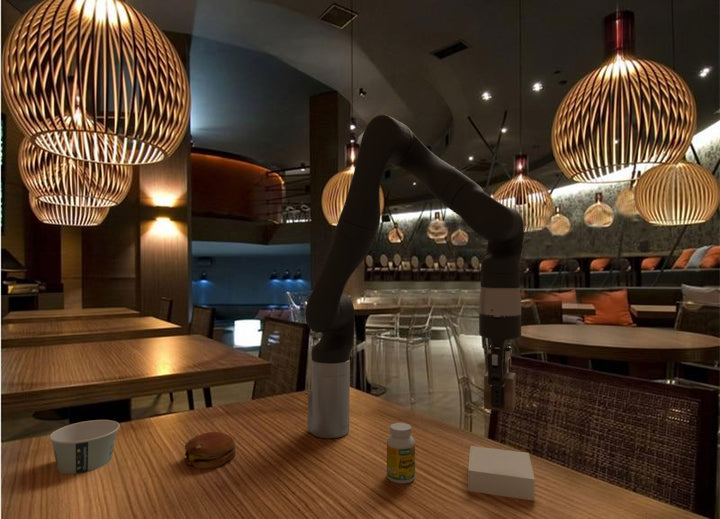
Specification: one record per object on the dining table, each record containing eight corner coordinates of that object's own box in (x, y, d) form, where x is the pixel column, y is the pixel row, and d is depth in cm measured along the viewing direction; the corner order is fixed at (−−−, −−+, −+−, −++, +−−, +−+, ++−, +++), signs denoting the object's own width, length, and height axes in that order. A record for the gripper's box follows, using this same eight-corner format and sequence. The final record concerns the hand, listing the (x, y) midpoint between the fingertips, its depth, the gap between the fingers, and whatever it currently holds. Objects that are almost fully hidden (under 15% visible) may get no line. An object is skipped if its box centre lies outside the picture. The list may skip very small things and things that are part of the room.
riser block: (468, 492, 77) (468, 470, 77) (470, 465, 87) (470, 445, 88) (534, 503, 74) (534, 479, 74) (528, 473, 84) (528, 452, 84)
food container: (124, 465, 86) (124, 432, 86) (49, 483, 78) (50, 447, 78) (114, 445, 95) (115, 415, 95) (47, 460, 88) (47, 427, 88)
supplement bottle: (402, 468, 85) (403, 419, 85) (421, 479, 81) (421, 427, 81) (380, 475, 82) (381, 424, 82) (398, 487, 78) (398, 433, 78)
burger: (238, 449, 94) (238, 427, 94) (229, 469, 85) (230, 445, 85) (191, 450, 93) (192, 429, 93) (177, 471, 84) (177, 447, 84)
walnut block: (484, 408, 80) (484, 375, 80) (488, 401, 84) (488, 370, 84) (512, 412, 78) (512, 379, 78) (515, 404, 82) (515, 373, 82)
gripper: (485, 307, 89) (485, 390, 89) (472, 314, 76) (472, 411, 76) (524, 309, 86) (524, 395, 86) (517, 316, 73) (517, 418, 73)
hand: (499, 402), depth 81 cm, fingers closed on walnut block, 5 cm apart
